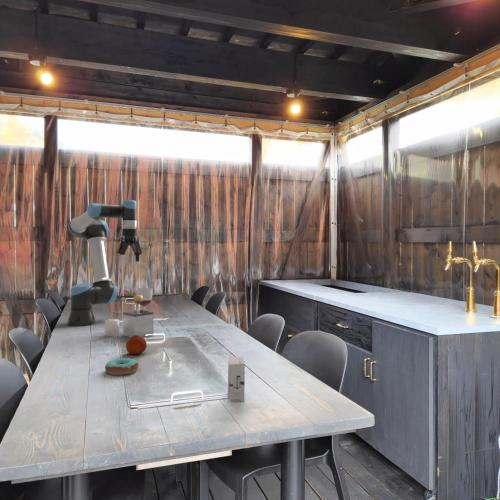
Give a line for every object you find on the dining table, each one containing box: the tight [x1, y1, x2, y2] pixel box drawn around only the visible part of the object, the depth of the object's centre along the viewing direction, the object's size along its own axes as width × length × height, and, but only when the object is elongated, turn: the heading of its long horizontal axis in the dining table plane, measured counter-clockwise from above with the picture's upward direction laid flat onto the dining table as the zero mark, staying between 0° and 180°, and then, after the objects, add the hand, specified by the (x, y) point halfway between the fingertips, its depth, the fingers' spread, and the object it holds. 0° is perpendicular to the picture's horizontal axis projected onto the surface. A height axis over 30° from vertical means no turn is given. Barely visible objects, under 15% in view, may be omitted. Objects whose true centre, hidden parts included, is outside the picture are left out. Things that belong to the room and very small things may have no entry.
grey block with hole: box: [122, 309, 154, 338], centre depth 222 cm, size 11×11×12 cm
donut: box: [104, 357, 139, 376], centre depth 160 cm, size 12×12×4 cm
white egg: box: [104, 318, 120, 338], centre depth 222 cm, size 7×7×8 cm
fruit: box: [125, 335, 147, 355], centre depth 185 cm, size 9×9×8 cm
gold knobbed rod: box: [133, 294, 143, 313], centre depth 222 cm, size 7×7×19 cm
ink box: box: [227, 356, 246, 403], centre depth 134 cm, size 9×5×12 cm, turn 5°
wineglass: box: [135, 287, 154, 311], centre depth 241 cm, size 9×10×22 cm
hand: (129, 266), depth 236 cm, fingers open, 13 cm apart
